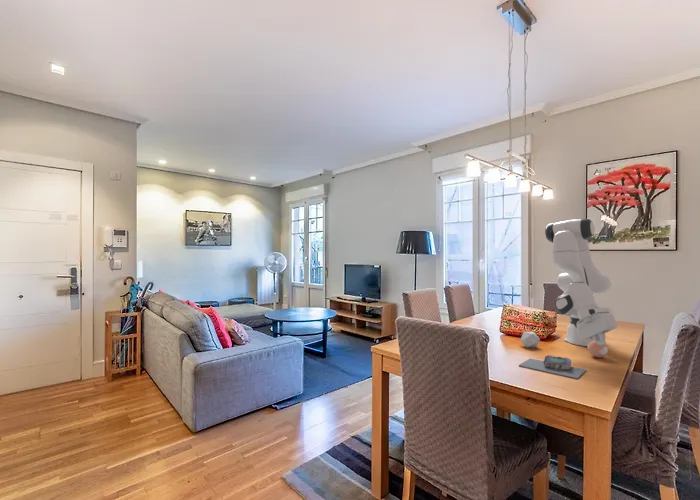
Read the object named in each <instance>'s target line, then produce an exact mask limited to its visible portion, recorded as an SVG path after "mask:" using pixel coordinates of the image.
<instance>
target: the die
mask: <svg viewBox="0 0 700 500" xmlns="http://www.w3.org/2000/svg"><path fill="white" fill-rule="evenodd" d="M540 340H541V338H540V337H539V336H538V335H537V334H536V333H535V332H534V331H523V332H522V335H521V337H520V340H519V341H520V342H521V343H522V344H523V345H524V346H525V347H526V348H530V349H531V348H532V349H533V348H537V347H538V345H539V343H540Z"/></svg>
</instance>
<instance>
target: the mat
mask: <svg viewBox="0 0 700 500" xmlns="http://www.w3.org/2000/svg"><path fill="white" fill-rule="evenodd" d="M543 362H544V360H540V359H535V358H528V359H527V360H525V361H524V362H521V363H519V364H518V367H521V368H526V369H529V370H534V371H539V372H543V373H547V374H552V375H557V376H561V377H565V378H571V379H574V380H578V379H580V378H581V377H582V376H583V374H585V373H586V372H587V369H584V368H579V367H575V366H571V368H570V369H568V370H560V369H559V370H558V369H557V370H556V369H554V368H550V367H547V366H545V365H544V363H543Z"/></svg>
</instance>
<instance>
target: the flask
mask: <svg viewBox="0 0 700 500" xmlns="http://www.w3.org/2000/svg"><path fill="white" fill-rule="evenodd" d="M543 361H544V362H543V363H544V365H545V366H547V367H550V368H554V369H556V370H557V369H558V370H559V369H560V370H568V369H570V368H571V367H572V366H571V365H572V360H571V359H570V358H568V357H561V356H552V355H545V356H544V360H543Z"/></svg>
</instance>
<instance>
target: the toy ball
mask: <svg viewBox="0 0 700 500" xmlns="http://www.w3.org/2000/svg"><path fill="white" fill-rule="evenodd" d="M587 352H588V353H589V354H590V355H591V356H593V357H594V358H596V359H597V358H598V359H599V358H600V359H601V358H605V357H606V355H607V353H608V348H607V344H605V345H603V346H599V345H598V343H597V342H596V341H591V342H590V343H589V344H588V346H587Z"/></svg>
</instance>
